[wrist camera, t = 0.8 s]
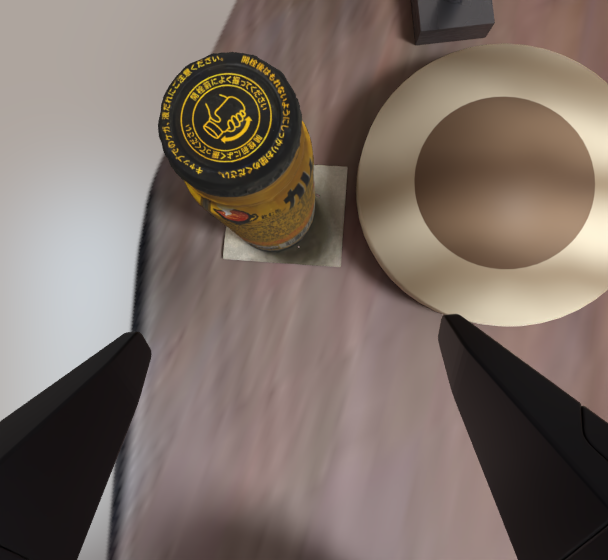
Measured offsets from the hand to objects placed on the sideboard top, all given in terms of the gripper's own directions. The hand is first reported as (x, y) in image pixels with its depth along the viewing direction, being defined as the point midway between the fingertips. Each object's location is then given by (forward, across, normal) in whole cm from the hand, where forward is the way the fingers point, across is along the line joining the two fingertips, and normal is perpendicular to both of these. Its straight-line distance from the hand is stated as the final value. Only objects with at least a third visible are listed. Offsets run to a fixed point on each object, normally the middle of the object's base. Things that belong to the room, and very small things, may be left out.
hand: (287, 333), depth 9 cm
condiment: (+15, +2, +3) cm, 15 cm away
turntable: (+14, -12, +2) cm, 19 cm away
